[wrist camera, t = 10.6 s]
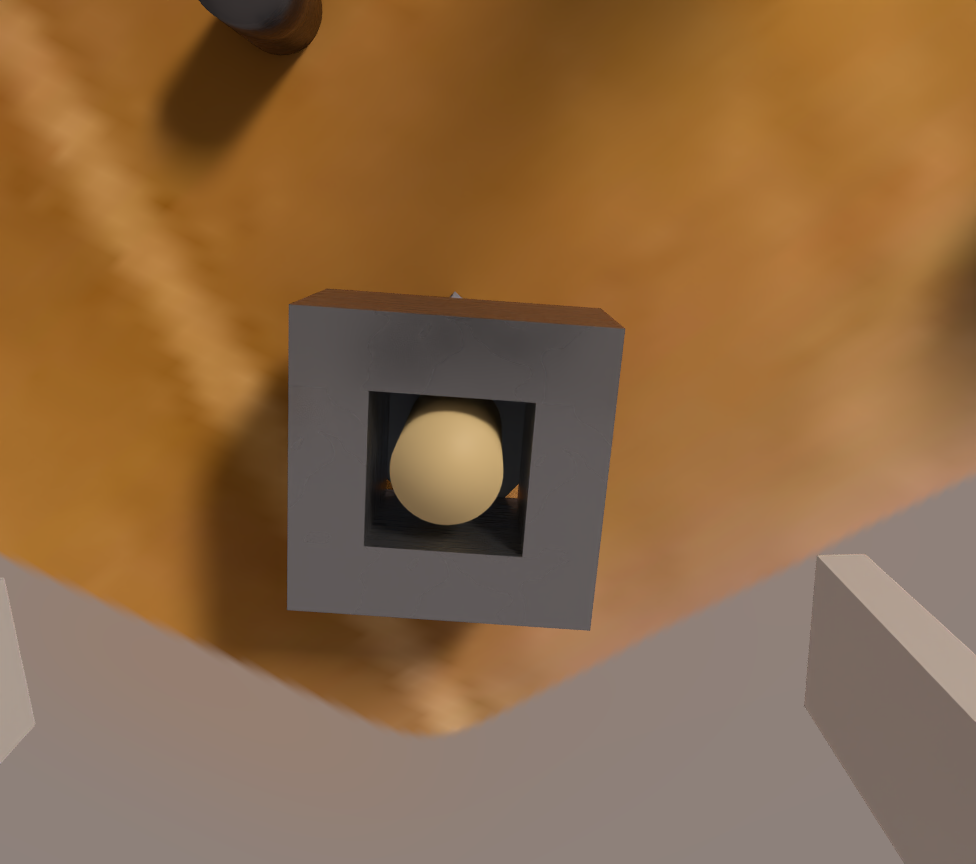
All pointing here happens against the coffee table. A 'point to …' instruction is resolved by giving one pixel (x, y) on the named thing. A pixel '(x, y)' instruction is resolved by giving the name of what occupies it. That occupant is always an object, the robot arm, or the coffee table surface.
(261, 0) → the ball
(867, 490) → the coffee table surface
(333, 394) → the grey hollow block
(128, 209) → the coffee table surface
